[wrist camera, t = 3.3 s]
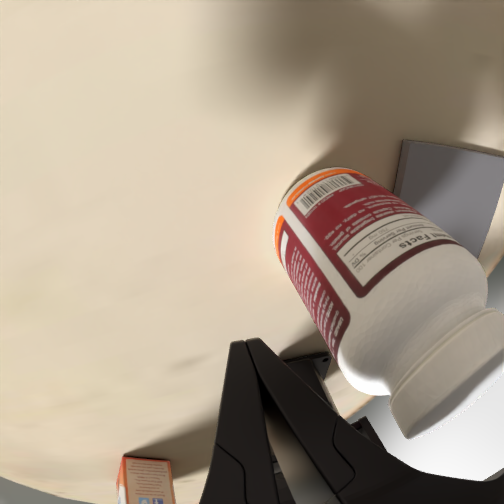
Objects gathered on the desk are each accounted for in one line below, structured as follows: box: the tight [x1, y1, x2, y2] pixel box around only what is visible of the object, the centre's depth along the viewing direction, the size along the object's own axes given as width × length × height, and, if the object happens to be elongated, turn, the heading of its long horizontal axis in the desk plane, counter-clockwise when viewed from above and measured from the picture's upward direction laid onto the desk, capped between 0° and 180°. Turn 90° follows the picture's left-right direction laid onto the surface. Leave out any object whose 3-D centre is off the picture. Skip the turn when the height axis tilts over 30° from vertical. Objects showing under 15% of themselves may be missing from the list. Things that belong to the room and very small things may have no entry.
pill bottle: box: [272, 167, 504, 439], centre depth 11 cm, size 6×6×11 cm
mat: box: [393, 140, 504, 259], centre depth 18 cm, size 10×11×1 cm
